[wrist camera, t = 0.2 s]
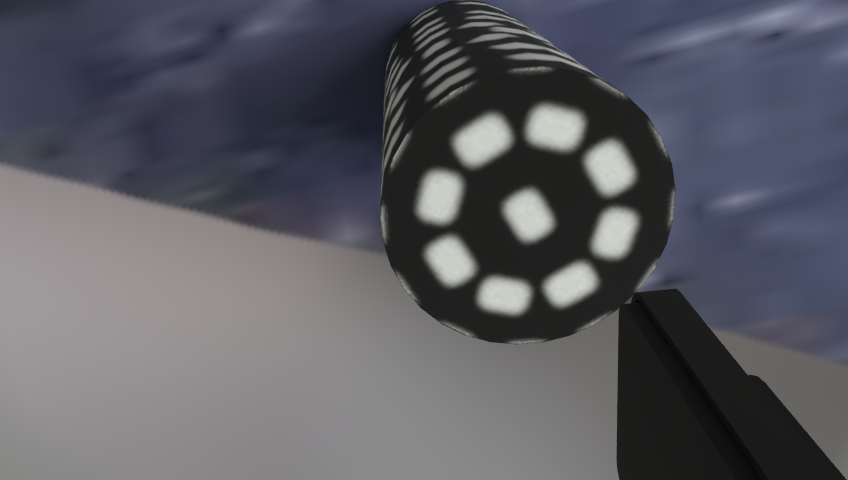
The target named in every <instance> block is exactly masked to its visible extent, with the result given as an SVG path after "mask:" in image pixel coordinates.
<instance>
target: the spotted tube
mask: <svg viewBox="0 0 848 480" xmlns="http://www.w3.org/2000/svg"><path fill="white" fill-rule="evenodd" d="M675 192H676V190H675V183H674V176H673V169H672V163H671V161H670V158H669V155H668V153H667V150H666V147H665V145H664V142H663V139H662V137H661V136H660V134H659V133H658V131H657V130H656V128H655V127H654V125H653V124H652V122H651V121H650V119H649V117H648V116H647V115H646V114H645V113H644V112H643V111H642V110H641V109H640V108H639V107H638V106H637V105H636V104H635V103H634V102H633V101H632V100H631V99H630V98H629V97H628V96H627V95H625V94H624V93H623V92H621V91H620V90H618V89H617V88H615V87H614V86H612V85H611V84H610V83H608V82H607V81H605V80H604V79H602V78H601V77H599V76H598V75H597V74H595V73H594V72H592V71H591V70H589V69H588V68H586V67H585V66H584V65H582V64H581V63H579V62H578V61H576V60H575V59H573V58H572V57H571V56H569V55H568V54H566V53H565V52H563V51H562V50H560V49H559V48H558V47H556V46H555V45H553V44H552V43H550V42H549V41H547V40H546V39H545V38H543V37H542V36H540V35H539V34H537V33H536V32H534V31H533V30H532V29H530V28H529V27H527V26H526V25H524V24H523V23H521V22H520V21H519V20H517V19H516V18H514V17H513V16H511V15H510V14H508V13H506V12H505V11H503V10H502V9H500V8H498V7H496V6H493V5H490V4H487V3H485V2H479V1H472V0H459V1H450V2H446V3H443V4H439V5H436V6H434V7H432V8H430V9H428V10H426V11H424V12H423V13H421V14H420V15H418V16H417V17H416V18H415V19H414V20H412V21H411V22H410V23H409V24H408V25H407V26H406V27H405V29H404V30H403V31H402V32H401V33H400V35H399V36H398V38H397V40H396V42H395V43H394V45H393V47H392V49H391V52H390V55H389V58H388V61H387V64H386V73H385V88H384V118H383V148H382V178H381V208H380V216H381V226H382V237H383V243H384V246H385V249H386V252H387V255H388V259H389V262H390V264H391V267H392V269H393V271H394V272H395V274H396V276H397V278H398V279H399V281H400V283H401V284H402V286H403V288H404V289H405V291H406V292H407V293H408V294H409V295H410V296H411V297H412V298H413V300H414V301H415V302H416V303H417V304H418V305H419V306H420V308H422V309H423V310H424V311H426V312H427V313H428V314H429V315H431V316H432V317H433V318H435V319H436V320H438V321H439V322H440V323H442V324H443V325H446V326H447V327H450V328H452V329H454V330H456V331H458V332H460V333H462V334H464V335H467V336H471V337H474V338H478V339H482V340H485V341H489V342H497V343H507V344H528V343H540V342H546V341H550V340H554V339H558V338H562V337H566V336H569V335H572V334H574V333H577V332H579V331H581V330H584V329H586V328H588V327H590V326H592V325H595V324H596V323H598V322H599V321H601V320H602V319H604V318H605V317H607V316H608V315H610V314H611V313H613V312H615V311H616V310H618V309H619V308H620V306H621V305H622V304H624V303H625V302H626V301H627V300H628V299H629V298H630V297H632V296H633V295H634V294H635V293H636V292H637V291H638V290H639V288H640V287H641V286H642V284H643V283H644V282H645V280H646V279H647V278H648V276H649V275H650V274H651V272H652V271H653V270H654V268H655V266H656V264H657V262H658V260H659V258H660V256H661V254H662V252H663V250H664V248H665V246H666V244H667V240H668V237H669V233H670V229H671V226H672V222H673V219H674V206H675Z"/></svg>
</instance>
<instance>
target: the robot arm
mask: <svg viewBox="0 0 848 480" xmlns="http://www.w3.org/2000/svg"><path fill="white" fill-rule="evenodd" d="M618 335H619V339H618V401H617V402H618V404H617V468H618V475H619V479H620V480H846V479H845V477H844V476H843V475H842V474H841V473H840V471H839V470H838V469H837V468H836V467H835V466H834V464H833V463H832V462H831V461H830V460H829V458H828V457H827V456H826V455H825V454H824V452H823V451H822V450H821V449H820V448H819V446H817V444H816V443H815V442H814V440H813V439H812V438H811V437H810V436H809V434H808V433H807V432H806V431H805V430H804V429H803V428H802V426H801V425H800V424H799V423H798V422H797V420H796V419H795V418H794V417H793V415H792V414H791V413H790V412H789V411H788V409H786V407H785V406H784V405H783V403H782V402H781V401H780V400H779V399H778V398H777V396H776V395H775V394H774V393H773V392H772V390H771V389H770V388H769V387H768V386H767V384H766V383H765V382H764V381H762V380H761V379H760V378H759V377H758V376H753V375H747V374H746V373H745V371H744V370H743V369H742V368H741V366H740V365H739V364H738V363H737V361H736V360H735V359H734V358H733V357H732V355H731V354H730V353H729V352H728V350H727V349H726V348H725V347H724V345H723V344H722V343H721V342H720V341H719V339H718V338H717V337H716V336H715V334H714V333H713V332H712V331H711V329H710V328H709V327H708V326H707V325H706V323H705V322H704V321H703V320H702V318H701V317H700V316H699V315H698V314H697V312H696V311H695V310H694V309H693V307H692V306H691V305H690V304H689V302H688V301H687V300H686V299H685V298H684V296H683V295H682V294H681V293H680V292H679V291H678V290H677V289H667V290H657V291H647V292H637V293H635V294H634V295H633V297H632V301H631V303H630V304H622V305H621V306H620V309H619V334H618Z"/></svg>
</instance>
